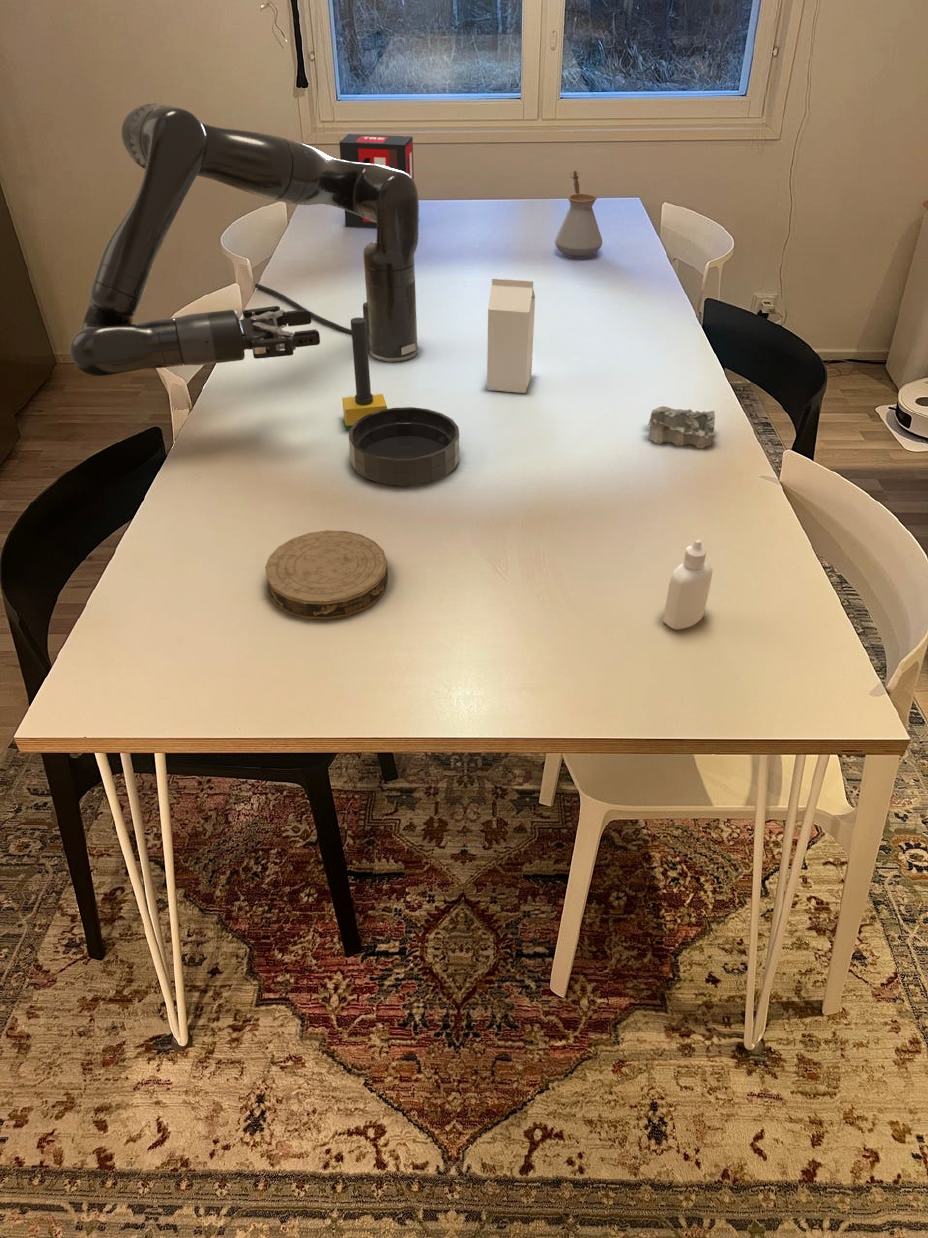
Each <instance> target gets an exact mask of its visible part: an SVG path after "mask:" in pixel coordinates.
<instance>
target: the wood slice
mask: <svg viewBox="0 0 928 1238" xmlns="http://www.w3.org/2000/svg"><path fill="white" fill-rule="evenodd" d="M264 568H265V574H266V581H267V587H268V593H269V598H270V599H271V600H272V602H273V603H274V604H275V605H276V607H277V608H279V609H281V610H282V611H284V612H285V613H287V614H289V615H291V616H294V617H295V616H296V617H299V618H303V619H305V620H306V619H307V620H320V621H321V620H324V621H325V620H326V621H328V620H336V619H341V618H347V617H351V616H353V615H355V614H358V613H360V612H363V611H365V610H367V609H368V608H370V607H371V606H372V605H374V604H375V603H377V602H378V601H379V600H380V599H381V597H382V596H383V594H384V593H385V592H386V591H387V586H388V581H389V571H388V559H387V557H386V554H385V551H384V549H383V548H382V547H381V546H380V545H379V544H378V543H377V541H375V540H374V539H371V538H369V537H367V536H365V535H363V534H359V533H355V532H352V531H348V530H320V531H313V532H307V533H305V534H301V535H298V536H295V537H293V538H291V539H289V540H288V541H285V542H284V543H283V544H281V545H279V546H278V547H277V548H275V550H274V551H273V552H272V553H271V554H270V555H269V556H268V559H267V562H266V565H265V567H264Z"/></svg>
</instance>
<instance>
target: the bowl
mask: <svg viewBox="0 0 928 1238" xmlns="http://www.w3.org/2000/svg"><path fill="white" fill-rule="evenodd" d="M348 443H349V456H350V464H351V465H352V467H353V469H354V471H355V472H356V473H358V474H359V475H360V476H362V477H364V478H365V479H367V480H371V481H373V482H376V483H379V484H381V485H386V486H387V485H389V486H400V487H408V486H417V485H423V484H427V483H431V482H434V481H436V480H439V479H442V478H443V477H445V476H447V475H448V474H450V473H451V472H452V471H453V470H454V469H455V468H456V467H457V465H458V463H459V461H460V430H459V426H458V425H457V423H456V422H455V421H454V419H452V418H451V417H449V416H447V414H444V413H442V412H438V411H435V410H432V409H429V408H422V407H414V406H413V407H412V406H411V407H409V406H408V407H391V408H387V409H385V410H380V411H377V412H374V413H371V414H368V415H366V416H364V417H363V418H361V419H360V420H358V421H356V422H355V423H354V425H353V426H352V427H351V429H350V430H349V431H348Z"/></svg>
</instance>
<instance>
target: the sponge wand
mask: <svg viewBox="0 0 928 1238" xmlns="http://www.w3.org/2000/svg"><path fill="white" fill-rule="evenodd" d="M350 330H351V332H352V335H351V341H352V342H351V343H352V344H351V345H352V353H353V354H352V355H353V357H352V358H353V367H354V379H355V380H354V381H355V395H354V396H347V397H342V398H341V401H342V410H343V422H344V425H345V429H346V432H349V430H350V429H351V427H352V426H353V425H354V423H355V422H356V421H358V420H360V419H361V418H363V417H364V416H366V415H368V414H371V413H374V412H377V411H380V410H385V409H388V405H387V401H386V399H385V395H384V394H383V393H379V394H372V391H371V390H372V388H371V376H370V374H371V373H370V362H369V361H370V359H369V353H368V345H367V331H366V320H365V319H364V318H363V317H361V316H359V317H354V318H351V319H350Z"/></svg>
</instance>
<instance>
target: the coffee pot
mask: <svg viewBox="0 0 928 1238" xmlns="http://www.w3.org/2000/svg"><path fill="white" fill-rule="evenodd" d="M572 174H573V176H572ZM569 176H570V178H571V179H573V188H574V193H573V194H570V195H568V196H567V200H568V201H569V208H568V210H567V212H566V214H565V216H564V219H563V221H562V224H561V225H560V227H559V230H558V232H557V233H556V236H555V238H554V245H555V247H556V249H557V250H558V251H559V252H560V253H561V254H562V256H564V257H566V258H569V259H579V260H580V259H588V258H591V257H593V256H594V254H596V253H597V252H598V251H599V250H600V249H601V247H602V246H603V238H602V234H601V232H600V229H599V225H598V222H597V218H596V216H595V212H594V210H593V206H594V204H595V202H596V201H597V196H594V195H592V194H587V193H580V182H579V178H580V173H579V172H578V171H576V170H574V171H572V172H570V175H569Z"/></svg>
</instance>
